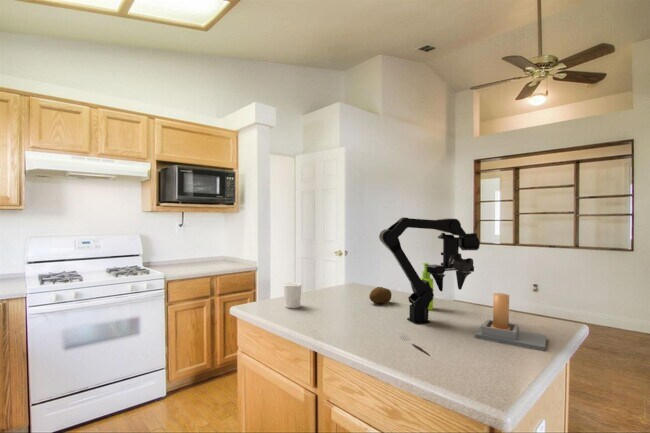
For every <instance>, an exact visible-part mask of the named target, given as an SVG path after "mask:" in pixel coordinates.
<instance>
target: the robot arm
mask: <svg viewBox="0 0 650 433" xmlns="http://www.w3.org/2000/svg"><path fill="white" fill-rule="evenodd" d="M408 228H412V229H427V230H436V231H439V232H441V233H440V234H439V235H438V236H437V239H439V240H442V252H440V255H441V256H442V262H440V264H429V265H428V267H427V272H430V275H431V276H432V277H433V278H432V279H433V280H434V281H435V283H436V286H437V288H438V290H439V291H440V292H443V289H444V277H445V276H446V273H445V272H450V271H455V276H456V283H457V288H458V290H462V288H463V285H464V283H465V280H466V278H467V276H469V275H471V274H472V272H475V266H474V259H473V258H470V257H469V258H462V253H461V252H460V250H461V251H478V250H479V249H480V244H481V242H480V240H479V237H478V233H477V232H470V233H466V231H465V230H464V229H463V227H462V224H461V221H460V220H459V219H457V218H451V217H450V218H447V217H446V218H441V219H440V218H439V219H424V218H423V219H421V218H410V217H401V218H399V219H398V220H397V221H396V222H395V223H393V224H392V225H390V226H389V227H387V229H383V230H381V231H380V233H379V235H378V238H379V241H380V242H381V244H382V245H383V246H384V247H385V248H386V249H387V250H388V251H390V252H391V254H392V255H393V257H394V258H395V260H396V262H397V264H398V265H399V266H400V268H401V270H402V271H403V273H404V274H405V276H406V278H407V279H408V281H409V282H410V287H411V290H412V293H411V294H410V295H409V296H408V298H407V299H408V302H409V303H410V304H409V317H407V318H406V320H408V321H409V322H412V323H413V324H416V325H420V324H429V323H431V320H429V310H428V307H429V304H430V302H431V301H432V300H433V301H434V297H435V294H434V288H433V289H432V288H431V287H430V284H429V282H428V281H426V280H424V279H422V280H421V279H420V278H421V277H420V275H419V274H418V272H417V271H416V269H415V268H414V266H413V265H412V263H411V262H410V261H411V260H409V258H408V256H407V255H406V254H405V252H404V250H403V248H402V244H401V242H400V241H401V240H400V239H399V237H400V236H401V235H403V233H404V232H405V231H406V230H407V229H408ZM459 249H460V250H459ZM444 273H445V274H444ZM432 291H433V292H432Z"/></svg>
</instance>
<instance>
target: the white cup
mask: <svg viewBox="0 0 650 433" xmlns="http://www.w3.org/2000/svg"><path fill="white" fill-rule="evenodd" d="M302 285H303V284H302V283H300V282H286V283H283V292H284V293H283V295H284V307H285V308H287V309H296V308H300V307H301V299H302V298H301V297H302Z"/></svg>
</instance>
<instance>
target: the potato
mask: <svg viewBox="0 0 650 433" xmlns="http://www.w3.org/2000/svg"><path fill="white" fill-rule="evenodd" d="M391 299H392V292H391V290H390V289H389V288H386V287H382V286H378V287H375V288H373V289H372V290H371V292H370V293H369V300H370V301H371V302H372V303H375V304H387V303H389V302H390V301H391Z"/></svg>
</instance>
